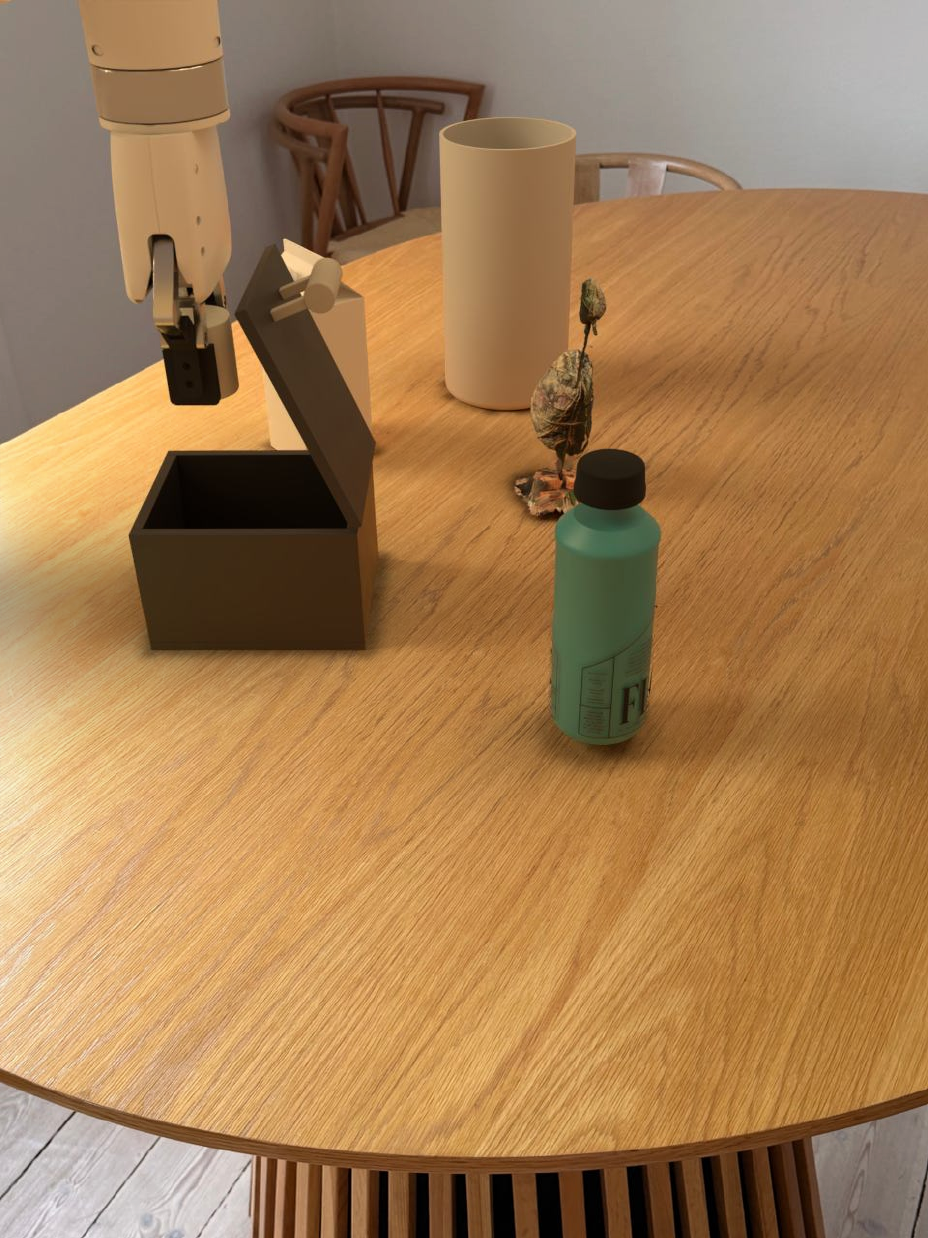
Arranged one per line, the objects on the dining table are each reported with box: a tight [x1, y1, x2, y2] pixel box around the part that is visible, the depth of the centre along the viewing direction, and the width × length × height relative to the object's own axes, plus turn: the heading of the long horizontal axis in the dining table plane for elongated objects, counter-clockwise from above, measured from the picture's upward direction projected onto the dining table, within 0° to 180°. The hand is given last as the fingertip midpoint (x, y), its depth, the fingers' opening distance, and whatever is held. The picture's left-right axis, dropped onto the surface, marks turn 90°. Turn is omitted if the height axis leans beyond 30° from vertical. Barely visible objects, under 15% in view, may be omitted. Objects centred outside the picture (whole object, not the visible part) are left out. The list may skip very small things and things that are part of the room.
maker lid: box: [234, 243, 377, 530], centre depth 82 cm, size 16×13×5 cm
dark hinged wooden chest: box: [128, 449, 379, 651], centre depth 90 cm, size 16×13×10 cm
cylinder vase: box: [438, 116, 577, 411], centre depth 118 cm, size 12×12×25 cm
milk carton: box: [261, 238, 374, 450], centre depth 109 cm, size 7×7×19 cm
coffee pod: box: [180, 305, 240, 400], centre depth 79 cm, size 4×4×5 cm
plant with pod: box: [513, 277, 608, 517], centre depth 101 cm, size 8×11×20 cm
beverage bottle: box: [547, 448, 662, 746], centre depth 74 cm, size 6×7×20 cm
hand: (204, 384), depth 80 cm, fingers closed on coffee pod, 4 cm apart
